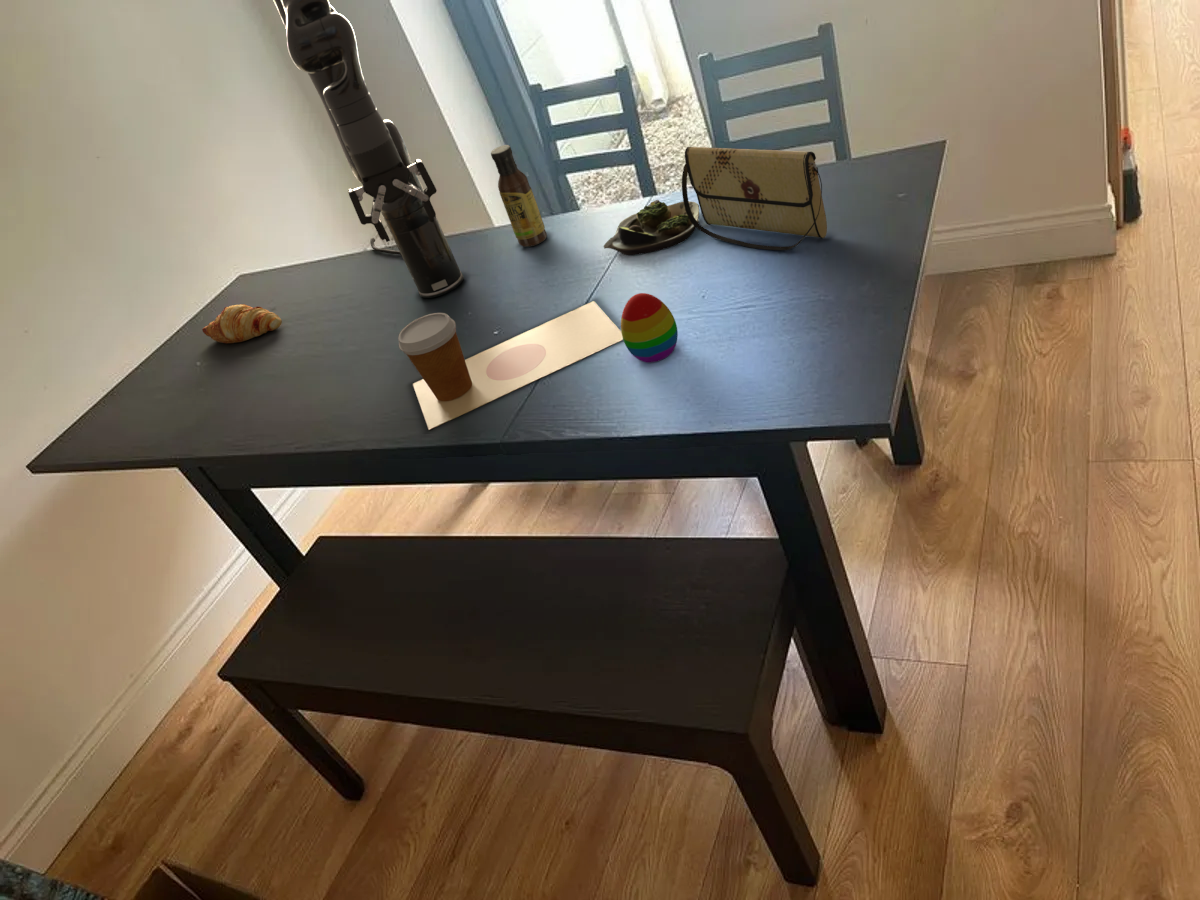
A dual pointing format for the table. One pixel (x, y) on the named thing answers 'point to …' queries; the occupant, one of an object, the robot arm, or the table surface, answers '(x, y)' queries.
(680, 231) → the salad plate
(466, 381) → the disposable coffee cup
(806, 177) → the clutch purse
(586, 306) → the placemat
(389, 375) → the table surface
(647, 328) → the decorative egg
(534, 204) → the sauce bottle
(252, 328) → the croissant
